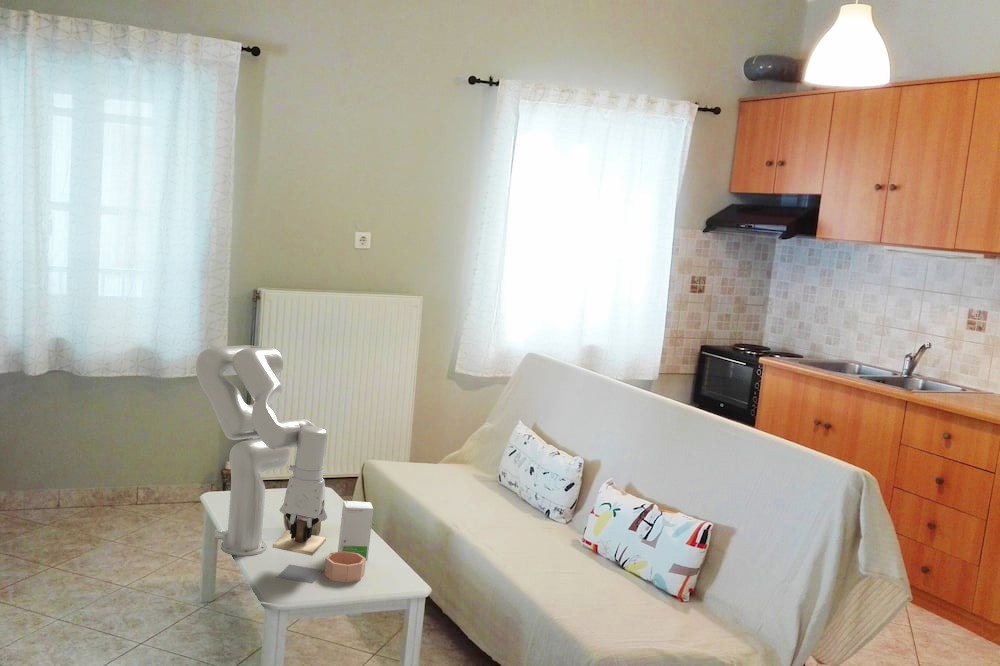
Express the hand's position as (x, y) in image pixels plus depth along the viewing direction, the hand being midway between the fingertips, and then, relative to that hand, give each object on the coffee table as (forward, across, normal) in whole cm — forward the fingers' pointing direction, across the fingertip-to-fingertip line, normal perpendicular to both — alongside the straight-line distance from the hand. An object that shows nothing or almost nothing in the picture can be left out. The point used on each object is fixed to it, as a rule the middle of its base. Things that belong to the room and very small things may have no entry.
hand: (300, 537), depth 257 cm
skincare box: (+10, +11, +18) cm, 23 cm away
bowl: (+9, +13, +3) cm, 16 cm away
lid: (+2, 0, 0) cm, 2 cm away
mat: (+10, +2, -1) cm, 10 cm away
